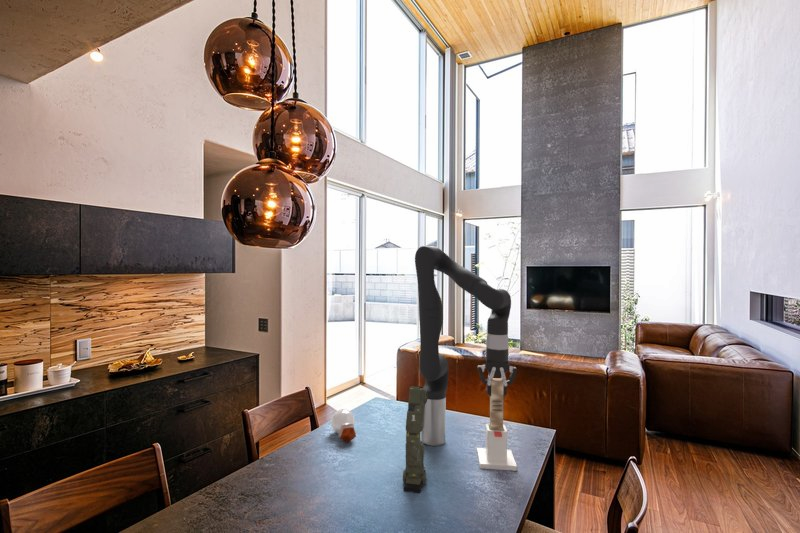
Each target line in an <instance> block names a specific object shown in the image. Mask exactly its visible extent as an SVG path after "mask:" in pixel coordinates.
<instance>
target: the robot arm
mask: <svg viewBox="0 0 800 533" xmlns="http://www.w3.org/2000/svg"><path fill="white" fill-rule="evenodd" d="M414 263H415V264H414V266H415V271H416V278H417V291H418V294H417V295H418V317H419V318H418V319H419V320H418V321H419V335H420V336H419V338H420V342H419V343H420V346H419V347H420V348H419V349H420V350H419V364H418V365H419V368H418V369H419V372H420V374H421V376H422V378H423V379H424V380H425V382H424V385H423V386H422V388H425V389H426V390H427V403H426V404H425V414H424V426H423V430H422V432H421V433H420V442H421V441H422V443H423V444H425V445H428V446H432V447H433V446H434V447H436V446H437V447H438V446H441V445H444V444H445V443H446V417H447V416H446V413H447V412H446V411H447V410H446V409H447V407H446V406H447V404H446V402H447V391H448V386H449V363H448V360H447V358H446V356H445V355H443V354H442V353H440V351H439V349H440V348H439V343H440V338H441V333H442V328H443V324H444V311H443V310H444V307H443V301H442V298H441V296H440V293H439V290H438V288H437V286H436V283H435V282H436V281H435V271H437V272H440V273H442V274H444V275H446V276H447V277H449V278H450V279H451V280H452V281H453V282H454V283H455V284H456V285H457V286H458V287H460V288H461V289H462V290H464V291H465V292H467V293H468V294H470V295H471V296H473V297H475V299H477V300H478V301H479V302H480V303H481V304H482V305H484V306H485V307H486V308H488V309H490V310H491V313H490V316H489V317H488V319H487V326H486V330H487V331H486V332H487V333H486V339H485V340H486V341H485V346H486V347H485V348H486V349H485V351H486V352H485V357H486V358H485V363H484V364H482V365H479V364H478V365H477V370H478V373H479V374H478V375H479V376H480V380H481V382H482V384H484V385H486V393H487V395H488V397H490V396H491V381H492V380H493V378H494V377H499V378H502V380H503V382H504V387H503V398H505V397H506V396H507V394H508V392H507V391H508V386H511V385H513V384H514V381H515V378H516V375H517V373H518V369H517V367H516V366H512V365H510V362H509V344H510V343H509V319H510V314H511V308H512V298H511V295H510V294H511V293H509V291H508V290H506V289H502V288H497V289H496V288H494V287H492V286H491V285H489V284H488V282H487V281H486V280H485V279H484V278H482V277H481V276H479V275H477V274H476V273H474V272H472V271H471V270H469V269H467V268H465V267H464V266H463V265H460V264H459V263H458V262H456V261H455V260H454V259H452V258H451V257H450V256H449V255H448V254H447V253H445V252H444V251H443V250H442V249H440V248H439V247H438V246H429V245H422V246H420V247H418V248H417V249H416V252H415V255H414ZM485 369H486V370H487V372H488V375H487V379H485V375H484V372H485ZM508 370H509V373H510V374H509V377H508V379H507V377H506V373H507V372H508Z"/></svg>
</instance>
